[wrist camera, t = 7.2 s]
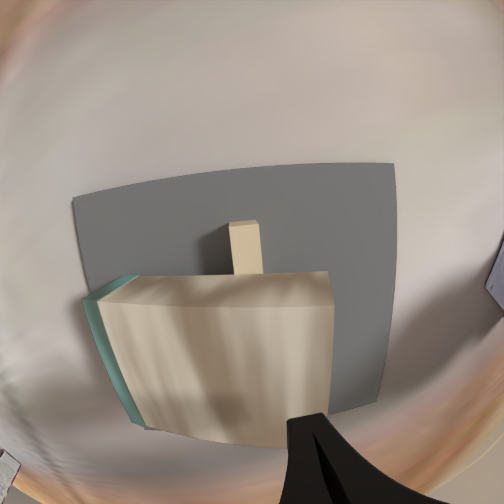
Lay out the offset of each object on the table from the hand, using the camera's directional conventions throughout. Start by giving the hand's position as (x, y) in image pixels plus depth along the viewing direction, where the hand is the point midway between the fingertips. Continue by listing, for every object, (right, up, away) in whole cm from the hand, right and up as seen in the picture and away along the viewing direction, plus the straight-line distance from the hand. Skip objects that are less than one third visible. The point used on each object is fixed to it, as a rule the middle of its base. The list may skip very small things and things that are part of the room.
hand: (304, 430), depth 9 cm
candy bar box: (-52, -37, +14) cm, 66 cm away
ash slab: (+2, +1, +4) cm, 4 cm away
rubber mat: (-2, +2, +9) cm, 10 cm away
